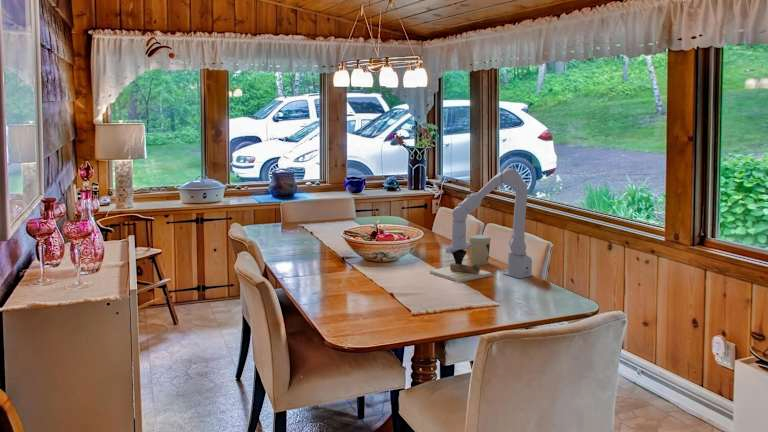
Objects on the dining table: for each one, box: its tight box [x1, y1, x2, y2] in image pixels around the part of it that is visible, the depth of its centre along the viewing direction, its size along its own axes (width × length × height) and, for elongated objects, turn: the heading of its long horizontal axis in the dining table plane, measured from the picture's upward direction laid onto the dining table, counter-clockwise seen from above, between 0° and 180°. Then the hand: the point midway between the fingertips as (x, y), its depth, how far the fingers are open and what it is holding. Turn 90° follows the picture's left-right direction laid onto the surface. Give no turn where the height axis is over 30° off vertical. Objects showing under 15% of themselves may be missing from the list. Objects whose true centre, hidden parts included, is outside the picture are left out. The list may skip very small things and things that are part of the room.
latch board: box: [428, 266, 492, 283], centre depth 282 cm, size 18×18×1 cm
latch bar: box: [449, 262, 481, 274], centre depth 280 cm, size 12×2×3 cm, turn 59°
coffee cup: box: [468, 234, 491, 266], centre depth 301 cm, size 9×9×12 cm
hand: (458, 267), depth 284 cm, fingers closed, pressing on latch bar
